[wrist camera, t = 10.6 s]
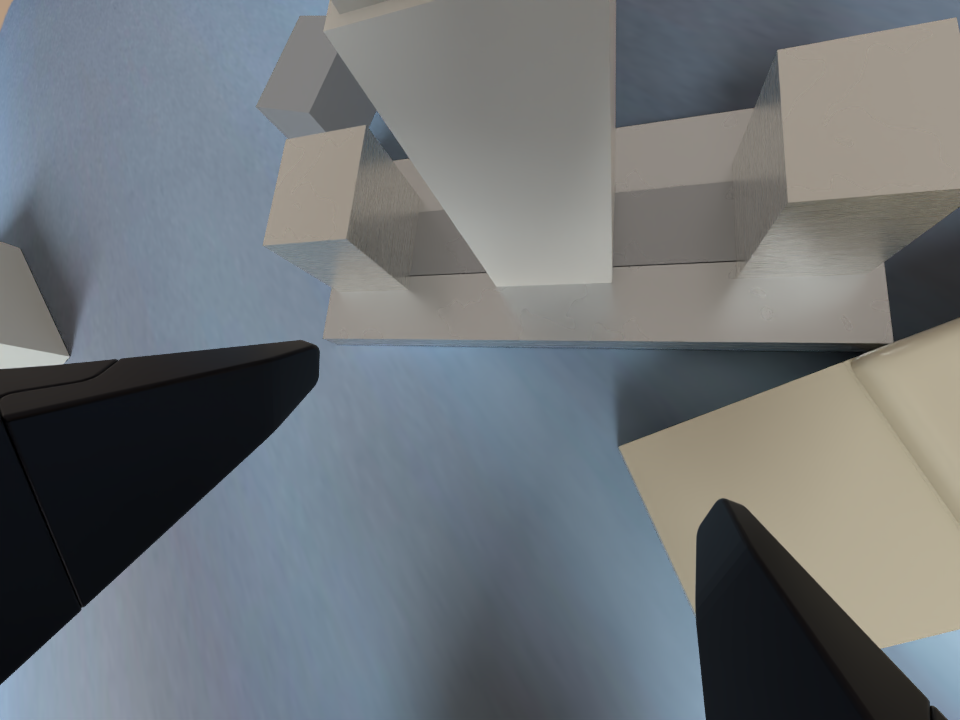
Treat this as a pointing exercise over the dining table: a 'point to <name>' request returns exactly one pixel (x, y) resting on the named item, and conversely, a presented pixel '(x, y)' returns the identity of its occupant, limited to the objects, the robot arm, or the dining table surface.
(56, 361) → the parts tray
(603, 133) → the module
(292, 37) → the grey rectangular block
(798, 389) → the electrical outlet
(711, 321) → the rail plate
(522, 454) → the dining table surface
